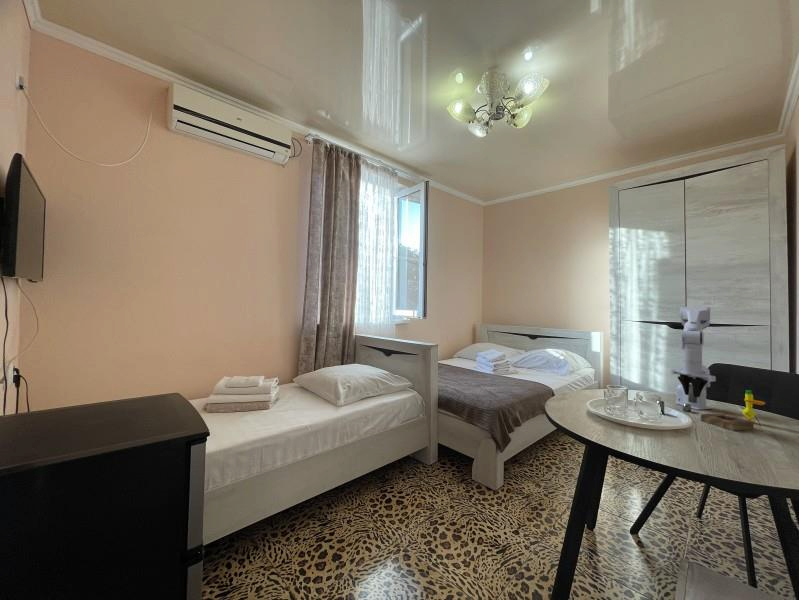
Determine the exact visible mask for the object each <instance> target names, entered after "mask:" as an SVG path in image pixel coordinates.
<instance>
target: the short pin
mask: <svg viewBox="0 0 799 600" xmlns="http://www.w3.org/2000/svg"><path fill="white" fill-rule="evenodd" d="M682 411H683V412H685V413H692V408H691V404H687V403H683V405H682Z"/></svg>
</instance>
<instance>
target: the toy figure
mask: <svg viewBox="0 0 799 600" xmlns="http://www.w3.org/2000/svg"><path fill="white" fill-rule="evenodd" d="M744 394H745V395H744V396H745V397H744V399H743V402H745V407H746V408H744V409H741V408H739V410H740V411H741V413H742V414H743V415H744V416H745V419H747V420H749V421H753V425H755V424H756V423H757V422H756V421H754V420H752V419H754V418H755V417H756V411H754V409H753V407H754V406H753V405H758V406H763V405H766V402H764V401H761V400H756V399H754V395H753V394H754V393H752V390H745V393H744Z"/></svg>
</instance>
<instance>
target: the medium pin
mask: <svg viewBox="0 0 799 600" xmlns="http://www.w3.org/2000/svg"><path fill="white" fill-rule="evenodd" d="M655 401H656V402H657V403H658V404H660V407H661V412H662V414H661V415H665V401H664V400H659V399H656V400H655ZM656 402H655V403H656Z"/></svg>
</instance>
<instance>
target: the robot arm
mask: <svg viewBox="0 0 799 600" xmlns="http://www.w3.org/2000/svg"><path fill="white" fill-rule="evenodd" d="M679 314H680V317H679V318H680V322H681V325H682V326H683V331H681V332H680V333H681V334H680V342H681V349H682V365H681V366H680V369H679V368H671V370H670V371H671V372H670V373H671V374H673V375H678V376H677V380H678V381H679V383H680V384H678V385H677V387H676V391H675V393H676V399H675V404H677V405H679V406H683V403H687V404H691V409H694V410H699V411H700V410H701V411H702V410H711V409H713V407H711V406H707V388H710V387H711V382H712V383H713V382H716V380H717V379H716V378H717V377H716V376H715V375H711V373H710V372H711V370H710V369H709V368H708V367H706V366H705V365H704V364H703V346H704V343H705V342H704V341H705V340H704V339H705V337H704V329H705V328H707V327H710V324H711V307H710V306H681V307H680V312H679ZM688 382H692V385H693V395H694V397H697V403H691V402H688Z"/></svg>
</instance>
